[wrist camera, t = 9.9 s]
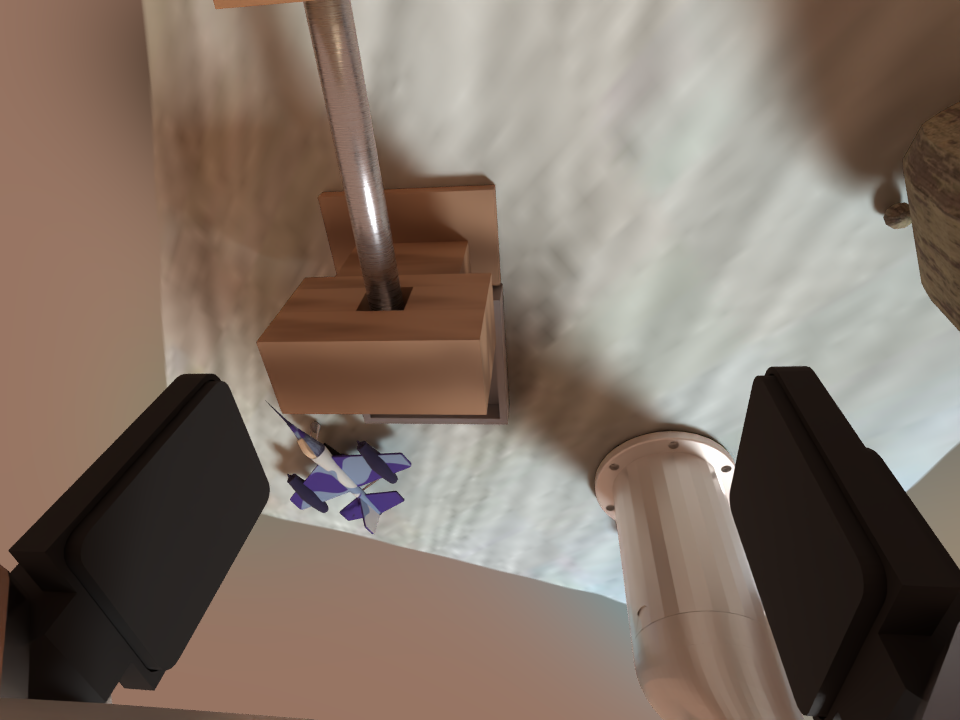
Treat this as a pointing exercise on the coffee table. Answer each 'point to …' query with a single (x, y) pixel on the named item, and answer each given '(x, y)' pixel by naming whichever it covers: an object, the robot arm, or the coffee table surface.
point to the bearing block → (395, 314)
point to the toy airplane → (346, 478)
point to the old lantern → (935, 208)
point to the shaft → (351, 142)
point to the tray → (498, 386)
